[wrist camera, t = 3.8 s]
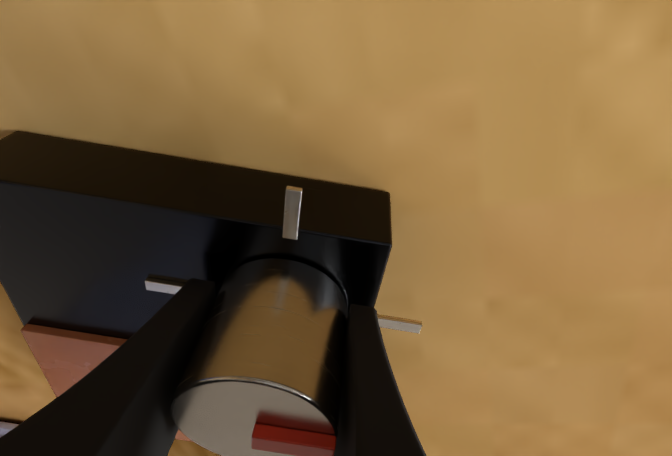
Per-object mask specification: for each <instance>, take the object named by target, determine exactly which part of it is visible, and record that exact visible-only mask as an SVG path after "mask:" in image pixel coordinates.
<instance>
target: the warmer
mask: <svg viewBox="0 0 672 456" xmlns="http://www.w3.org/2000/svg"><path fill="white" fill-rule="evenodd" d="M391 248H392V232H391V206H390V193H389V192H385V191H379V190H373V189H367V188H361V187H354V186H348V185H342V184H336V183H330V182H324V181H318V180H312V179H306V178H300V177H294V176H288V175H282V174H276V173H269V172H263V171H257V170H251V169H245V168H239V167H233V166H227V165H221V164H215V163H209V162H203V161H197V160H191V159H185V158H178V157H172V156H166V155H160V154H154V153H148V152H142V151H136V150H130V149H124V148H118V147H112V146H106V145H100V144H94V143H87V142H81V141H75V140H69V139H63V138H57V137H51V136H45V135H39V134H33V133H27V132H21V131H16V132H14V133H12V134H10V135H8V136H6V137H5V138H3V139H1V140H0V282H1V284H2V285H3V287H4V289H5V291H6V293H7V295H8V297H9V299H10V301H11V303H12V304H13V306H14V308H15V310H16V312H17V314H18V316H19V318H20V320H21V322H22V323H23V325H24V326H25V325H26V324H33V325H39V326H46V327H52V328H58V329H65V330H71V331H77V332H84V333H90V334H96V335H103V336H109V337H115V338H122V339H129V338H130V337H131V336H132V335H133V334H134V333H135V332H137V331H138V330H139V329H140V328H141V327H142V326H143V325H144V324H145V323H146V322H147V321H148V320H149V319H151V318H152V317H153V316H154V315H155V314H156V313H157V312H158V311H159V310H160V309H161V308H162V307H163V306H164V305H165V304H166V303H167V302H168V301H169V300H170V299H171V298H172V297H173V296H174V295H175V294H176V293H177V292H178V291H179V290H180V289H181V288H182V286H183V285H184V284H185V283H186V282H187V281H188V280H190V279H191V278H195V279H201V280H207V281H214V282H215V291H216V297H217V295H218V293H219V291H220V288H221V286H222V284H223V282H224V280H225V279H226V277H227V276H228V275H229V274H230V273H231V272H232V271H233V270H235V269H236V268H237V267H239V266H241V265H243V264H245V263H247V262H250V261H253V260H258V259H264V258H284V259H291V260H295V261H299V262H302V263H305V264H308V265H310V266H313V267H315V268H316V269H318V270H320V271H322V272H323V273H325V274H326V275H328V276H329V277H330V278H331V279H332V280H333V281H334V282H335V283H336V284H337V285H338V286H339V288H340V289H341V291H342V292H343V294H344V297H345V299H346V302H347V306H348V313H349V309H350V305H351V304H356V305H362V306H368V307H374V306H375V302H376V299H377V296H378V292H379V289H380V285H381V282H382V278H383V275H384V272H385V268H386V265H387V261H388V258H389V254H390V251H391ZM347 317H348V316H347ZM377 317H378V322H379V327H382V328H388V329H395V330H401V331H407V332H413V333H419V332H420V330H421V327H422V321H416V320H410V319H404V318H398V317H391V316H385V315H379V314H377Z"/></svg>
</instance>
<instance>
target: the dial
mask: <svg viewBox="0 0 672 456" xmlns="http://www.w3.org/2000/svg"><path fill="white" fill-rule="evenodd" d="M347 316H348V306H347V302H346V299H345V297H344V294H343V292H342V291H341V289H340V288H339V286H338V285H337V284H336V283H335V282H334V281H333V280H332V279H331V278H330V277H329V276H328V275H326V274H325V273H323V272H322V271H320V270H318V269H316V268H315V267H313V266H310V265H308V264H305V263H302V262H299V261H295V260H291V259H284V258H264V259H258V260H253V261H250V262H247V263H245V264H243V265H241V266H239V267H237V268H236V269H235V270H233V271H232V272H231V273H230V274H229V275H228V276H227V277H226V279H225V280H224V282H223V284H222V286H221V288H220V291H219V293H218V295H217V297H216V300H215V302H214V304H213V307H212V309H211V311H210V313H209V316H208V318H207V320H206V322H205V325H204V327H203V329H202V331H201V334H200V336H199V338H198V340H197V343H196V345H195V347H194V349H193V352H192V354H191V356H190V359H189V361H188V363H187V365H186V368H185V370H184V372H183V374H182V377H181V379H180V381H179V383H178V386H177V388H176V390H175V392H174V395H173V397H172V399H171V404H170V413H171V417H172V420H173V421H174V423H175V425H176V426H177V427H178V429H179V430H180V431H181V432H182V433H183V434H184V435H185V436H186V437H188V438H189V439H190V440H192V441H193V442H195V443H196V444H198V445H200V446H202V447H203V448H205V449H207V450H210V451H212V452H214V453H217V454H219V455H222V456H334V453H335V449H336V439H337V435H338V425H339V413H340V401H341V389H342V377H343V365H344V348H345V336H346V324H347Z"/></svg>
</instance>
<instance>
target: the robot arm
mask: <svg viewBox="0 0 672 456" xmlns="http://www.w3.org/2000/svg"><path fill="white" fill-rule="evenodd" d="M215 300H216V291H215V282H214V281H207V280H201V279H195V278H191V279H190V280H188V281H187V282H186V283H185V284H184V285H183V286H182V288H181V289H180V290H179V291H178V292H177V293H176V294H175V295H174V296H173V297H172V298H171V299H170V300H169V301H168V302H167V303H166V304H165V305H164V306H163V307H162V308H161V309H160V310H159V311H158V312H157V313H156V314H155V315H154V316H153V317H152V318H151V319H149V320H148V321H147V322H146V323H145V324H144V325H143V326H142V327H141V328H140V329H139V330H138V331H137V332H135V333H134V334H133V335H132V336H131V337H130V338H129V339H128V340H127V341H126V342H125V343H123V344H122V345H121V346H120V347H119V348H118V349H117V350H115V351H114V352H113V353H112V354H111V355H109V356H108V357H107V358H106V359H105V360H104V361H102V362H101V363H100V364H99V365H98V366H97V367H95V368H94V369H93V370H92V371H91V372H89V373H88V374H87V375H86V376H84V377H83V378H82V379H81V380H79V381H78V382H77V383H76V384H74V385H73V386H72V387H70V388H69V389H68V390H67V391H65V392H64V393H63V394H61V395H60V396H59V397H57V398H56V399H54V400H53V401H52V402H50V403H49V404H48V405H46V406H45V407H44V408H42V409H41V410H39V411H38V412H37V413H35V414H34V415H32V416H31V417H29V418H28V419H27V420H25V421H24V422H22V423H21V424H13V423H7V422H0V456H167V455H168V452H169V450H170V447H171V445H172V443H173V441H174V439H175V436H176V434H177V432H178V430H179V429H178V427H177V426H176V425H175V423H174V421H173V420H172V417H171V413H170V404H171V399H172V397H173V395H174V392H175V390H176V388H177V386H178V383H179V381H180V379H181V377H182V374H183V372H184V370H185V368H186V365H187V363H188V361H189V359H190V356H191V354H192V352H193V349H194V347H195V345H196V343H197V340H198V338H199V336H200V334H201V331H202V329H203V327H204V325H205V322H206V320H207V318H208V316H209V313H210V311H211V309H212V307H213V304H214V302H215ZM334 456H426V454H425V452H424V450H423V447H422V445H421V443H420V441H419V439H418V436H417V434H416V432H415V429H414V427H413V425H412V422H411V420H410V417H409V415H408V413H407V410H406V408H405V405H404V403H403V400H402V397H401V395H400V392H399V389H398V386H397V383H396V381H395V378H394V375H393V372H392V369H391V366H390V363H389V360H388V357H387V353H386V350H385V346H384V343H383V339H382V335H381V331H380V327H379V322H378V317H377V311H376V310H375V309H374V307H368V306H362V305H356V304H351V305H350V309H349V313H348V317H347V324H346V336H345V348H344V365H343V377H342V389H341V401H340V413H339V425H338V435H337V439H336V449H335V453H334Z"/></svg>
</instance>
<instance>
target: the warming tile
mask: <svg viewBox="0 0 672 456" xmlns="http://www.w3.org/2000/svg"><path fill="white" fill-rule="evenodd" d="M21 332H22V334H23V336H24V338H25V340H26V342H27V344H28V345H29V347H30V349H31V351H32V353H33V355H34V357H35V358H36V360H37V362H38V364H39V366H40V368H41V369H42V371H43V373H44V375H45V377H46V379H47V381H48V382H49V384H50V386H51V388H52V390H53V392H54V394H55V395H56V397H59V396H60V395H61V394H63V393H64V392H65V391H67V390H68V389H69V388H70V387H72V386H73V385H74V384H76V383H77V382H78V381H79V380H81V379H82V378H83V377H84V376H86V375H87V374H88V373H89V372H91V371H92V370H93V369H94V368H95V367H97V366H98V365H99V364H100V363H101V362H102V361H104V360H105V359H106V358H107V357H108V356H109V355H111V354H112V353H113V352H114V351H115V350H117V349H118V348H119V347H120V346H121V345H122V344H123V343H125V342H126V341H127V340H128V339H122V338H115V337H109V336H103V335H96V334H90V333H84V332H77V331H71V330H65V329H58V328H52V327H46V326H39V325H33V324H26V325H25V326H24V327H23V328H22V329H21ZM175 439H179V440H186V441H192V440H190V439H189V438H188V437H186V436H185V435H184V434H183V433H182V432H181V431H180V430H178V432H177V434H176V436H175ZM192 442H193V441H192Z"/></svg>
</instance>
